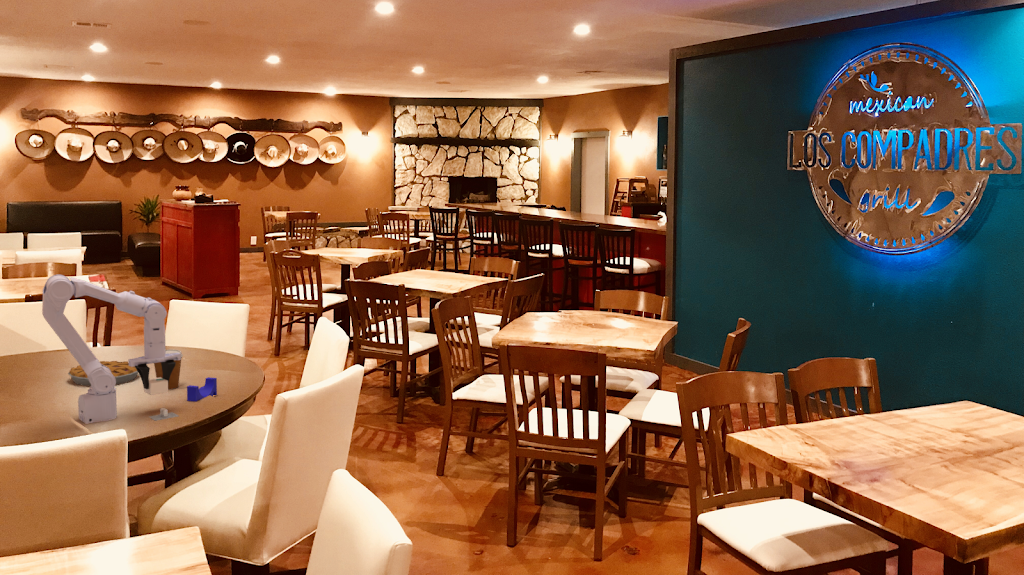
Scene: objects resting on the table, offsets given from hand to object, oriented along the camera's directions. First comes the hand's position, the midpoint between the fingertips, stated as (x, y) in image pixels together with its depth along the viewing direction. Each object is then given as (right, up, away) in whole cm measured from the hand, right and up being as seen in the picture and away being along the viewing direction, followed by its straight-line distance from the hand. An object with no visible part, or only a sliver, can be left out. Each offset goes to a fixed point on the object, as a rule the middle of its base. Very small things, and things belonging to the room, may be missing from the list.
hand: (155, 386), depth 238 cm
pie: (-35, -3, +39) cm, 52 cm away
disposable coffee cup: (-10, -4, +31) cm, 33 cm away
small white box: (0, -2, 0) cm, 2 cm away
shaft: (+4, -8, -4) cm, 10 cm away
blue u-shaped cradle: (+6, -7, +18) cm, 20 cm away
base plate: (+4, -9, -4) cm, 11 cm away
